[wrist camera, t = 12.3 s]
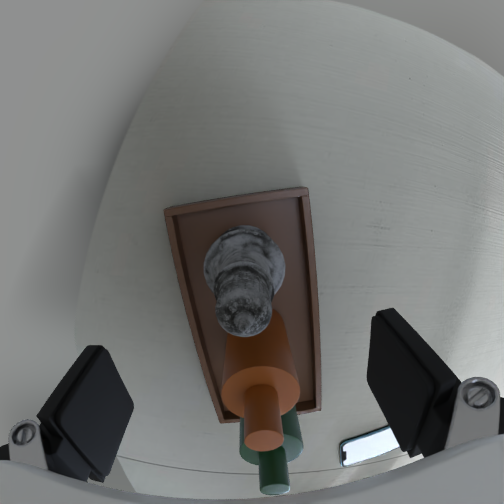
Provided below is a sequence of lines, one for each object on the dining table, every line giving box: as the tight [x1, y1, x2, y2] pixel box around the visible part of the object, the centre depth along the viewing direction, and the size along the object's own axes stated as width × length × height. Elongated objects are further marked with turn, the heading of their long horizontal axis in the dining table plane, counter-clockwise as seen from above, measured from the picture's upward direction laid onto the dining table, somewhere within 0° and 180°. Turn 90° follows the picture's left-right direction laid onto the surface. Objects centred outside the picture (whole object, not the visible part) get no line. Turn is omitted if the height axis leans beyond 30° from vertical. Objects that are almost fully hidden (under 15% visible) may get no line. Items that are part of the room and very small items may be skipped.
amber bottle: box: [221, 309, 300, 451], centre depth 19 cm, size 5×5×13 cm
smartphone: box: [340, 426, 400, 467], centre depth 32 cm, size 8×1×16 cm
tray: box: [164, 187, 321, 423], centre depth 25 cm, size 23×11×2 cm, turn 9°
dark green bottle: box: [240, 405, 303, 495], centre depth 21 cm, size 5×5×13 cm
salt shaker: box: [204, 225, 285, 337], centre depth 18 cm, size 6×6×12 cm
